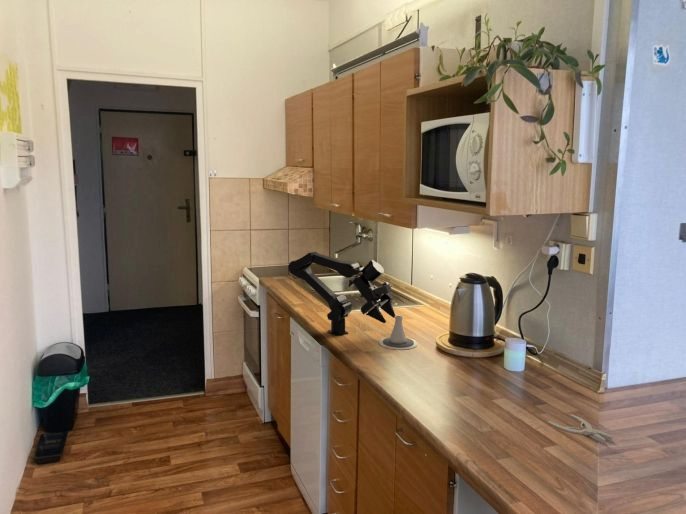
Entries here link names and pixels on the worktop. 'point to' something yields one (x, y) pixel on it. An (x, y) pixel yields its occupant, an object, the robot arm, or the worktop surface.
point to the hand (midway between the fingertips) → (390, 320)
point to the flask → (398, 332)
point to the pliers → (585, 430)
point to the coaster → (396, 346)
